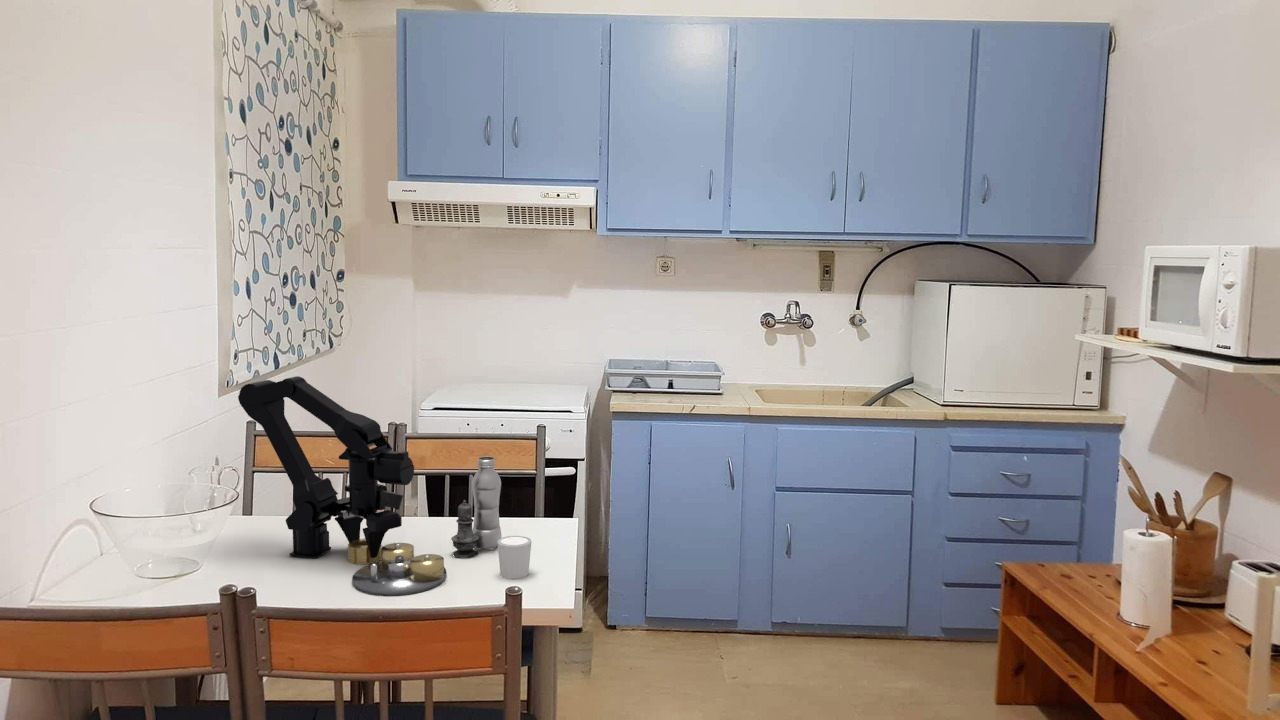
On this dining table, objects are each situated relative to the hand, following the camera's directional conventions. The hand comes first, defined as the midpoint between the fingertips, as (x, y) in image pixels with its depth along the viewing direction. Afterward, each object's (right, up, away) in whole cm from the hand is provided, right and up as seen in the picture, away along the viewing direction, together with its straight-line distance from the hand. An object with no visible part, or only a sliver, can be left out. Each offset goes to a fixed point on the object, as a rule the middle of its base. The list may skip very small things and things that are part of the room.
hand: (364, 553), depth 198 cm
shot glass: (+32, -3, -7) cm, 33 cm away
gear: (0, -1, 0) cm, 1 cm away
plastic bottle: (+24, -1, +9) cm, 26 cm away
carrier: (+10, -3, -11) cm, 15 cm away
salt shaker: (+20, -1, +5) cm, 21 cm away
